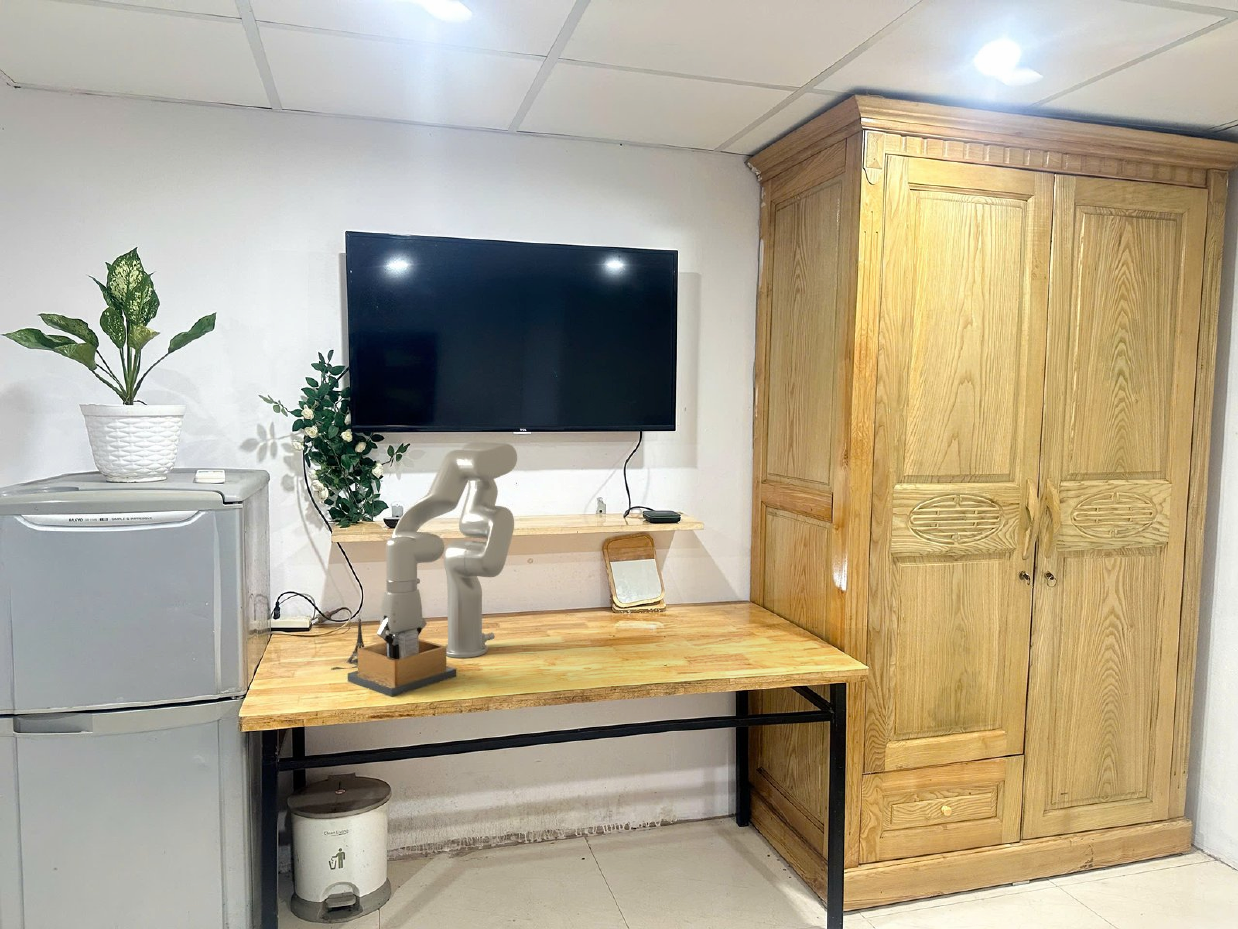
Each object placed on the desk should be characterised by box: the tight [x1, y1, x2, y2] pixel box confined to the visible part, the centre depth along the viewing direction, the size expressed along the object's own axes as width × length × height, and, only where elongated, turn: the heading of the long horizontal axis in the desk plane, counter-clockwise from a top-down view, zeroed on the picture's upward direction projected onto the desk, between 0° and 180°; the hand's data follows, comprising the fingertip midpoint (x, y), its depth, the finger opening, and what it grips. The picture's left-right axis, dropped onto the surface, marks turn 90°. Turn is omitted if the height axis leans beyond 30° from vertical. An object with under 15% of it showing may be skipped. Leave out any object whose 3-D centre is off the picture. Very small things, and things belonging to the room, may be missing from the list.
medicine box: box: [386, 630, 419, 659], centre depth 218 cm, size 8×4×9 cm, turn 48°
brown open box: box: [347, 638, 457, 698], centre depth 218 cm, size 20×18×8 cm
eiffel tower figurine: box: [330, 614, 366, 671], centre depth 231 cm, size 15×10×13 cm
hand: (402, 656), depth 218 cm, fingers closed on medicine box, 4 cm apart
